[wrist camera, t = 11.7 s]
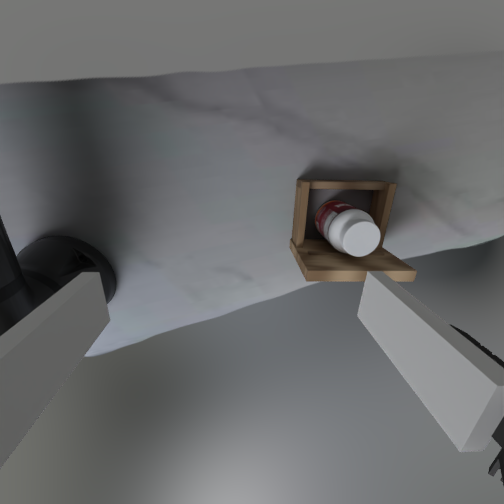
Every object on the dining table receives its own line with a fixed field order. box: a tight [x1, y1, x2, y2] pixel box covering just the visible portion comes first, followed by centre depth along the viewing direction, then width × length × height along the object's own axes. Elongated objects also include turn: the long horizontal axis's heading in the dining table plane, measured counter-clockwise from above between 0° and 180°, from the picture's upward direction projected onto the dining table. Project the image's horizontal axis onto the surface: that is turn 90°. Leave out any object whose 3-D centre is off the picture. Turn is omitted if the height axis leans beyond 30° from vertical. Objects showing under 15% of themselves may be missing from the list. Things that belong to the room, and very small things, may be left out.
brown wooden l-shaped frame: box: [290, 179, 417, 281], centre depth 35 cm, size 14×11×12 cm
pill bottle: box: [315, 200, 380, 257], centre depth 35 cm, size 6×6×11 cm
